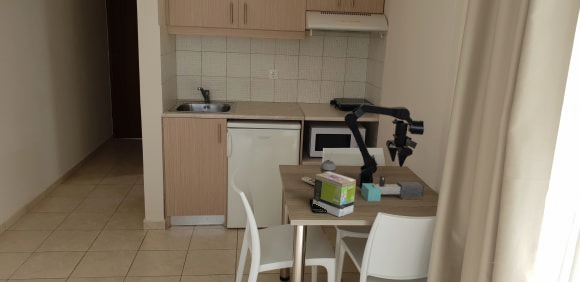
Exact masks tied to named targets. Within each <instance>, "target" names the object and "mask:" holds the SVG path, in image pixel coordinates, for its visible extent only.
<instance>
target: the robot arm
mask: <svg viewBox="0 0 580 282" xmlns="http://www.w3.org/2000/svg"><path fill="white" fill-rule="evenodd" d="M410 112H411V111H410V110H409V109H408V108H407V107H405V106H393V107H390V106H382V105H375V104H371V103H370V104H368V103H366V102H365V103H364V102H363V103H361V104H360V105H359V106H357V107H356V108H355V109H352V110H351V111H347V112H346V113H345V114H344V117H343V118H344V122H345V124H346V126H347V127H348V129H349V130H350V132H351V133H352V135H353V138H354V140H355V142H356V145H357V147H358V150H359V151H360V154H361V156H362V159H363V160H362V161H363V165H362V166H360V168H359V172H360V173H358V178H357V182H356V186H358V187H359V189H362V183H374V178H373V176H374V175H373V174H375V173H376V172H377V170H378V166H379V164H378V162H377V160H376V157H375V155H374V154H372V155H371V154H370V152H369V150H368V146H367V145H366V142H365V141H364V138H363V135H362V134H361V131H360V128H359V124H358V123H359V122H358V119H360V118H361V117H362V116H363V115H364V114H366V113H368V114H373V115H374V114H376V115H382V116H383V115H384V116H389V117H392V118H394V119H393V120H391V123H392V124H393V125H395V126H394V127H395V128H394V133H392V137H393V139H387V140H386V142H385V146H386V148H387V150H388V153H389V156H390V160H391V162H395V160H396V156H397V160H398V164H399V165H398V166H399V167H400V168H402V167H403V166H404V163H405V162H406V159H407V158H408V157H410V156H412V155H413V152H414V149H416V147H417V145H418V142H416V141H414V140H412V139H413V138H412V137H410V136H408V135H407V134H408V133H410V135H418V136H419V135H420V136H423V135H424V132H425V128H424V127H425V125H424V123H425V122H424V120H414V119H412V118H411V113H410Z"/></svg>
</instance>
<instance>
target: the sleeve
mask: <svg viewBox="0 0 580 282" xmlns="http://www.w3.org/2000/svg"><path fill="white" fill-rule="evenodd" d="M396 184H399V185H401V186H402V188H401V194H396V197H397V198H399V199H400V200H404V201H406V200H407V201H410V200H413V201H414V200H417V201H418V200H419V201H420V200H422V198H423V197H424V191H425V185H424V184H422V183H421V182H420V181H397V183H396Z"/></svg>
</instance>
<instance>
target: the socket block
mask: <svg viewBox="0 0 580 282" xmlns="http://www.w3.org/2000/svg"><path fill="white" fill-rule="evenodd" d="M372 184H375V183H374V182H373V183H362V188H361V193H360V194H361V196H362V197H363V199H365V200H366V201H367V202H381V195H382V194H381V189H380V188H374V187H373V186H372Z"/></svg>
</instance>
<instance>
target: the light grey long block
mask: <svg viewBox="0 0 580 282" xmlns="http://www.w3.org/2000/svg"><path fill="white" fill-rule="evenodd" d="M372 186H373V187H374V188H380V189H381V195H397V194H401V188H402V186H401V185H399V184H397V183H394V184H392V183H391V184H389V183H388V184H387V183H386V176H385V175H380V176H379V183H376V184H375V183H374V184H372Z"/></svg>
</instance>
